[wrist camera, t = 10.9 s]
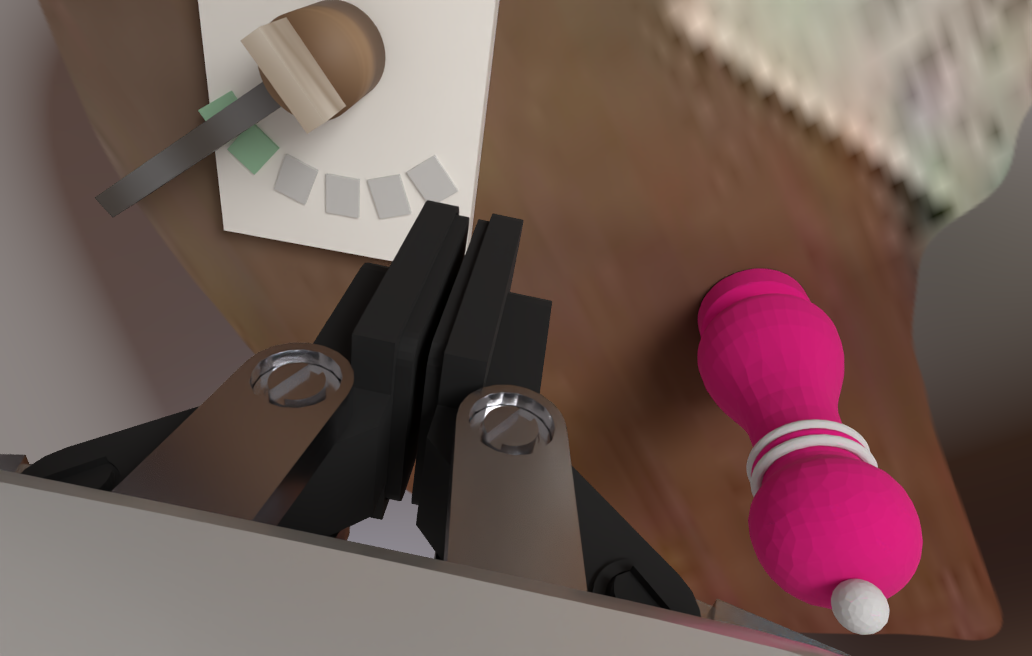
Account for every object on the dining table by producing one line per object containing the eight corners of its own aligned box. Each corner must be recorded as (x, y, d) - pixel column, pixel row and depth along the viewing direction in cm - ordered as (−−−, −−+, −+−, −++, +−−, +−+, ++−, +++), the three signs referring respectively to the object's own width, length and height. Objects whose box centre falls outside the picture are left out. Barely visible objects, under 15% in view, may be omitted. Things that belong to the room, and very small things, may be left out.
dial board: (192, -102, 30) (171, -102, 28) (505, -46, 30) (500, -44, 28) (227, 218, 39) (212, 230, 37) (468, 262, 38) (463, 275, 37)
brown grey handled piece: (347, -21, 29) (289, -4, 24) (403, 70, 31) (361, 105, 26) (113, 147, 35) (23, 192, 29) (173, 216, 37) (99, 270, 31)
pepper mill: (715, 379, 41) (792, 703, 24) (669, 290, 38) (723, 591, 21) (833, 337, 39) (1009, 667, 22) (794, 238, 35) (966, 534, 19)
